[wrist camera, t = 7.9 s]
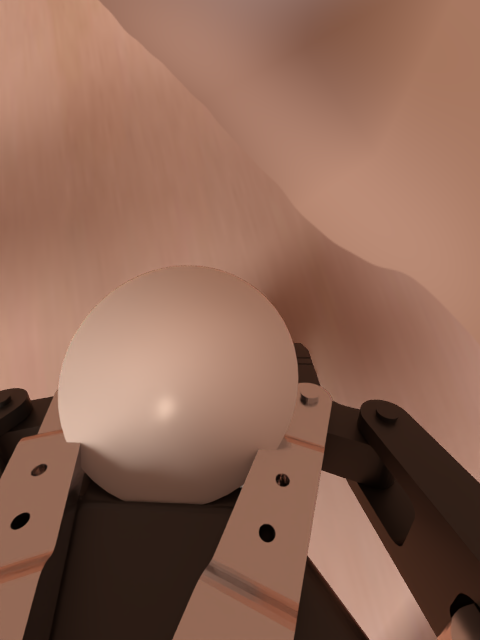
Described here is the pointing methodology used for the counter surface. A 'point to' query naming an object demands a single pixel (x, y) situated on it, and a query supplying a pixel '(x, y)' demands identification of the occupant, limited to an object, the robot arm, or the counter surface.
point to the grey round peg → (177, 385)
